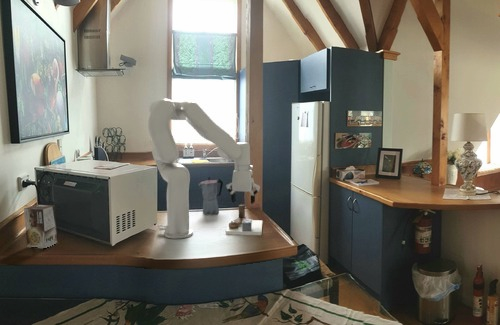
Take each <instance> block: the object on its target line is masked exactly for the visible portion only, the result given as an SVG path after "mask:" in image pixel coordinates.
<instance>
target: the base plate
mask: <svg viewBox="0 0 500 325" xmlns="http://www.w3.org/2000/svg"><path fill="white" fill-rule="evenodd" d="M231 220H232V219H230V220H229V222H228V225H227V227H226V230H225V235H238V236H239V235H241V236H262V233H263V232H262V231H263V220H257V219H256V220H255V219H254V220H253V219H252V231H242V223H243V222H242V223H241V224H240V225H239V226H238V228H229V223H231Z"/></svg>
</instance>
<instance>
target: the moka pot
mask: <svg viewBox="0 0 500 325" xmlns="http://www.w3.org/2000/svg"><path fill="white" fill-rule="evenodd" d="M219 183H220V184H219ZM218 184H219V193H218ZM198 186H199V187H200V189H201V194H202V197H203V200H202V201H203V202H202V213H203V215H204V214H205V215H215V214H218V213H219V211H220V209H219V205H218V199H217V197H219V196H221V194H222V189H223V186H224V182H223V181H222V180H221V179H220V178H219V179H214V180H212V179H211V177H210V176H208V177H207V180H204V181H201V182H199V183H198Z"/></svg>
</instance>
